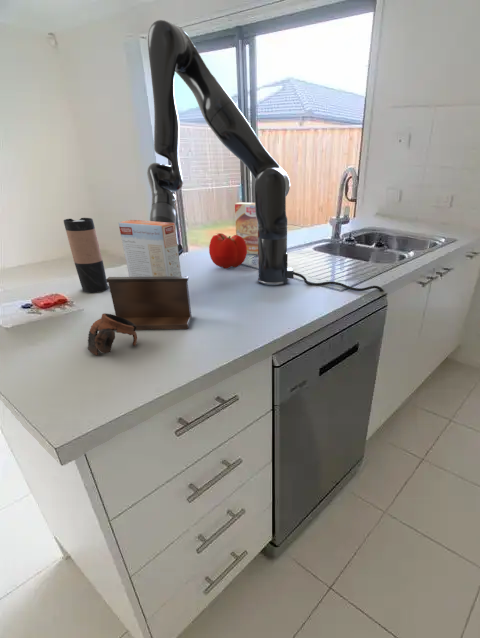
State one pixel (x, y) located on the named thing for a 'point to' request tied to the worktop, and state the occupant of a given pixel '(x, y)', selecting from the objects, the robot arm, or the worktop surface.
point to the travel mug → (86, 254)
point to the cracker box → (150, 248)
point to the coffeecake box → (247, 225)
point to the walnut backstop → (152, 301)
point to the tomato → (227, 250)
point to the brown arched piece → (108, 332)
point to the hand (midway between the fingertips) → (160, 275)
